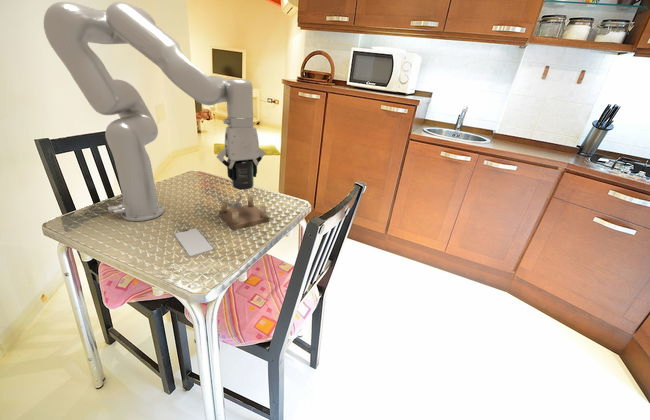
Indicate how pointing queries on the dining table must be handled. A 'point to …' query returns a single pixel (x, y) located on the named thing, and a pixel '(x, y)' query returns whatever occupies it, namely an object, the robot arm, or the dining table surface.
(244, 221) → the board
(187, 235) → the smartphone
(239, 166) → the supplement bottle
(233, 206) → the pliers
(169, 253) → the dining table surface
